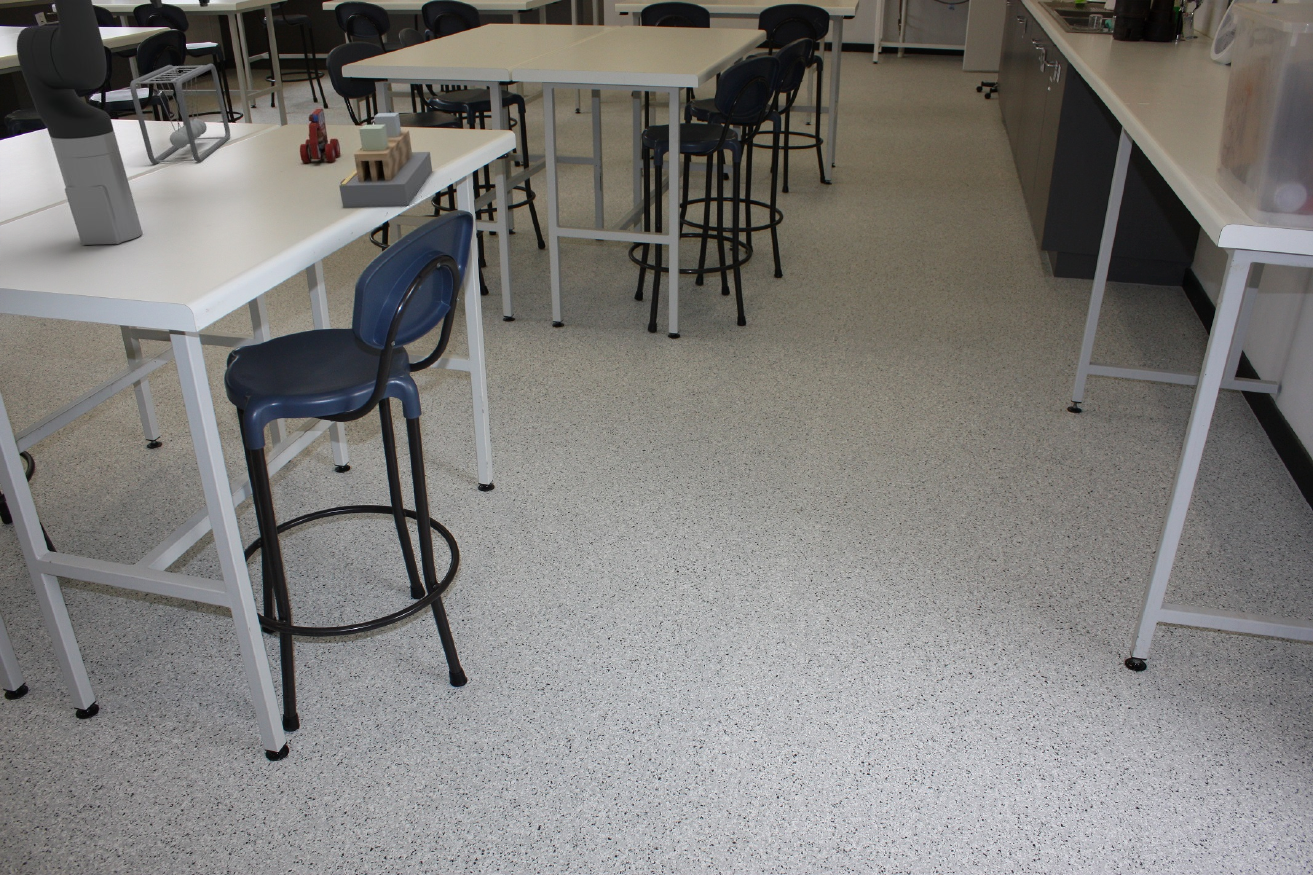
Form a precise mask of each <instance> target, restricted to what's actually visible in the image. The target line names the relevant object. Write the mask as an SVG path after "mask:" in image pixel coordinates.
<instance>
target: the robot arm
mask: <svg viewBox="0 0 1313 875" xmlns="http://www.w3.org/2000/svg"><path fill="white" fill-rule="evenodd" d="M52 1H53V4H54V6H55V12H56V15H57V21H58V25H32V26H26V27H25V28H23V29H22V30H21V31H20V32H19V34H18V35H17V41H16V53H17V54H16V55H17V59H18V64H19V66H20V70H21V72H22V75H23V78H24V81H25V83H26V86H27V89H28V91H29V94H30V97H31V100H32V102H33V105H34V107H35V111H36V113H37V115H38V117H39V118H40V120H41V121H42V123H43V124H44V126H45V127H46V129H47V132H48V135H49V138H50V140H51V144H52V147H53V151H54V154H55V158H56V160H57V164H58V167H59V169H60V170H59V171H60V173H61V177H62V180H63V183H64V187H65V188H64V193H65V195H66V199H67V201H68V205H69V208H70V211H71V215H72V218H73V221H74V224H75V228H76V230H77V233H78V236H79V241H80V243H81V245H82V246H84V245H87V246H89V245H92V246H93V245H118V244H121V243H123V242H127V241H130V240H133V239H136V238H139V237H140V236H142V235H143V230H142V225H141V222H140V219H139V215H138V211H137V208H136V205H135V201H134V198H133V197H134V196H133V193H132V189H131V186H130V183H129V179H128V175H127V173H126V169H125V168H126V167H125V165H124V161H123V158H122V155H121V151H120V146H119V144H118V140H117V136H116V133H115V130H114V127H113V126H114V125H113V122H112V119H111V116H110V115H109V113H107V112H106V111H105V110H103V109H100V108H98V107H95V106H94V105H91V104H89V103H87V102H86V101H84V100H83V99H82V98H80V97H79V95H78V94H77V93H76V91H75V90H94V89H98V88H100V87H101V86H102V85H103V84H104V82H105V80H106V77H107V69H108V68H107V57H106V52H105V46H104V41H103V39H102V35H101V30H100V27H99V22H98V20H97V15H96V13H95V8H94V4H93V1H92V0H52ZM149 2H150V4H151V5H153V7H154V8H162V7H163V1H162V0H149ZM198 3H199V6H200V8H203V7H204V8H205V7H208V6H209V4H210V0H198Z"/></svg>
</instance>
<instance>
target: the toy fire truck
mask: <svg viewBox="0 0 1313 875" xmlns="http://www.w3.org/2000/svg"><path fill="white" fill-rule="evenodd" d="M325 116H326V115H325V110H324V109H323V108H316V109H315V110H314V111H313V112H312V113H311V114H309V115H308V122H310V123H309V124H308V139H306V140H305V143H301V144H300V145H299V155H300V160H301V162H302V163H303V164H310V163H311V162H312V160H323V159H324V157H325V160H326V161H327V163H334V162H335V161H336V158H339V157H340V156H341V146H340V142H339V139H338V138H330V140H328V133H327V126H326V117H325Z"/></svg>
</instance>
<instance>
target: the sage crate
mask: <svg viewBox="0 0 1313 875" xmlns="http://www.w3.org/2000/svg"><path fill="white" fill-rule="evenodd" d="M358 130H359V135H360V136H359V138H360V143H361V148H362V150H363V151H384V150H385V149H386V148H387V147H388V146H389V145H388V139H387V132H386V125H375V124H364V125H363V126H361V127H360V128H359V129H358Z"/></svg>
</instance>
